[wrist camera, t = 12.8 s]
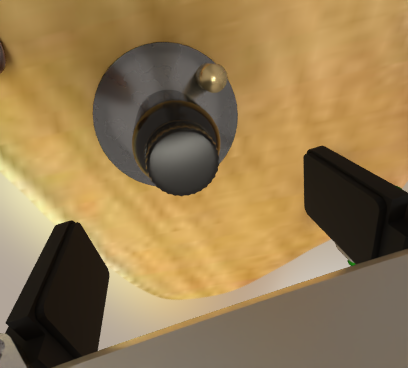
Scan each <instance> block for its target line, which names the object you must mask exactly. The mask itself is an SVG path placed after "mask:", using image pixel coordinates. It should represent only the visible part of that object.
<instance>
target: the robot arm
mask: <svg viewBox="0 0 408 368" xmlns="http://www.w3.org/2000/svg"><path fill="white" fill-rule="evenodd" d="M304 206H305V210H306V212H307V214H308V215H309V216H310V217H311V218H312V219H313V220H314V221H315V222H316V223H317V225H318V226H319V227H320V228H321V229H322V230H323V231H324V232H325V233H326V234H327V235H328V236H329V237H330V238H331V239H332V240H333V241H334V242H335V243H336V244H337V245H338V246H339V247H340V248H341V249H342V250H343V251H344V252H345V254H346V255H347V256H348V257H349V258H350V259H351V260H352V261H353V262H354V263H355V264H356V265H353V266H350V267H348V268H344V269H341V270H338V271H335V272H332V273H329V274H326V275H323V276H320V277H317V278H314V279H311V280H308V281H304V282H301V283H298V284H295V285H292V286H289V287H286V288H283V289H280V290H277V291H274V292H271V293H268V294H265V295H262V296H259V297H256V298H253V299H250V300H247V301H244V302H241V303H238V304H235V305H232V306H229V307H226V308H223V309H220V310H217V311H214V312H211V313H208V314H206V315H202V316H199V317H196V318H193V319H190V320H187V321H184V322H181V323H178V324H175V325H173V326H170V327H167V328H164V329H161V330H158V331H155V332H152V333H149V334H146V335H143V336H140V337H137V338H134V339H131V340H128V341H125V342H122V343H119V344H117V345H114V346H111V347H108V348H105V349H102V350H99V351H98V345H99V338H100V332H101V326H102V320H103V313H104V307H105V301H106V294H107V288H108V282H109V271H108V268H107V266H106V265H105V263H104V262H103V260H102V258H101V257H100V255H99V253H98V252H97V250H96V248H95V247H94V245H93V244H92V242H91V240H90V239H89V237H88V235H87V234H86V232H85V230H84V229H83V227H82V226H81V224H80V223H78V222H77V223H75V222H74V221H72V220H71V221H68V222H64V223H61V224H58V225H56V226H55V227H54V229H53V231H52V233H51V235H50V237H49V239H48V241H47V243H46V245H45V247H44V248H43V250H42V252H41V254H40V257H39V259H38V261H37V262H36V264H35V266H34V268H33V270H32V272H31V274H30V276H29V278H28V280H27V282H26V284H25V286H24V288H23V290H22V292H21V294H20V296H19V298H18V300H17V301H16V303H15V305H14V307H13V310H12V312H11V313H10V315H9V317H8V319H7V321H6V324H7V325H8V326H9V327H8V329H7V331H6V333H5V334H3V333H0V368H408V193H407V192H406V191H404V190H402V189H400V188H398V187H397V186H395V185H393V184H391V183H389V182H388V181H386V180H384V179H382V178H380V177H379V176H377V175H375V174H373V173H371V172H370V171H368V170H366V169H364V168H362V167H361V166H359V165H357V164H355V163H353V162H352V161H350V160H348V159H346V158H344V157H343V156H341V155H339V154H337V153H336V152H334V151H332V150H330V149H328V148H327V147H325V146H319V147H316V148H313V149H309V150H308V151H307V154H305V155H304Z"/></svg>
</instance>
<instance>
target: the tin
mask: <svg viewBox="0 0 408 368" xmlns="http://www.w3.org/2000/svg"><path fill="white" fill-rule="evenodd" d="M5 63H6V59H5V53H4V49H3V47H2V44H1V42H0V73H1V72H2V71H3V70H4V68H5Z"/></svg>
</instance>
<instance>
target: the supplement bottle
mask: <svg viewBox="0 0 408 368" xmlns="http://www.w3.org/2000/svg"><path fill="white" fill-rule="evenodd" d="M132 150H133V155H134V158H135V160H136V163H137V164H138V166H139V168H140V169H141V170H142V171H143V173H144V174H145V175H146V176H148V177H149V178H150V179H151V181H152V182H153V183H154V184H155V185H156V187H158V188H160V189H161V190H162V191H164V192H167V193H168V194H173V195H175V196H176V195H179V196H184V195H190V194H195V193H196V192H198V191H201V190H202V189H203V188H205V187H207V185H208V184H209V183H211V182H212V179H213V178H214V177H215V174H216V172H217V171H218V166H219V162H218V160H219V152H220V134H219V130H218V128H217V125H216V123H215V122H214V120H213V118H212V117H211V116H210V115H209V113H208V112H207V111H206V110H204V109H203V108H202V107H201V106H200V105H199V104H197V103H196V102H195V101H194V100H193V99H192V98H190V97H189V96H188V95H186V94H184V93H182V92H179V91H176V90H161V91H158V92H155V93H153V94H152V95H150V96H149V97H147V98H146V99H145V100H144V102H143V103H142V104H141V106H140V108H139V110H138V113H137V116H136V121H135V125H134V130H133V136H132Z"/></svg>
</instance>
